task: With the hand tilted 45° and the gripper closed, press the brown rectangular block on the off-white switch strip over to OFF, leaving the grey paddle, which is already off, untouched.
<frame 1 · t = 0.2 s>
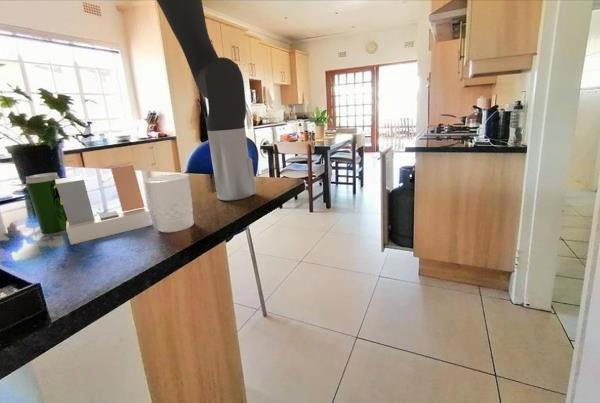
switch strip: (112, 230, 63), on the countertop
brown rectangular block: (127, 188, 65), point 8 cm above the countertop, hinge at 22.0°
white cup: (176, 227, 63), on the countertop
beer can: (59, 233, 65), on the countertop
grey paddle: (75, 200, 57), point 8 cm above the countertop, hinge at -22.0°
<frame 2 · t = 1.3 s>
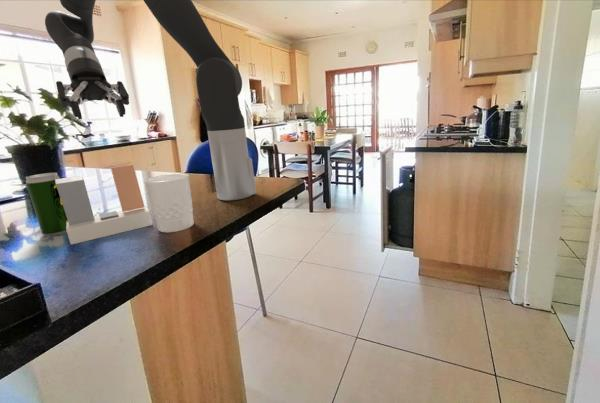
hand: (101, 115, 74), 23 cm above the countertop, tool tilted 45°, fingers open, 8 cm apart
nothing on the countertop moved.
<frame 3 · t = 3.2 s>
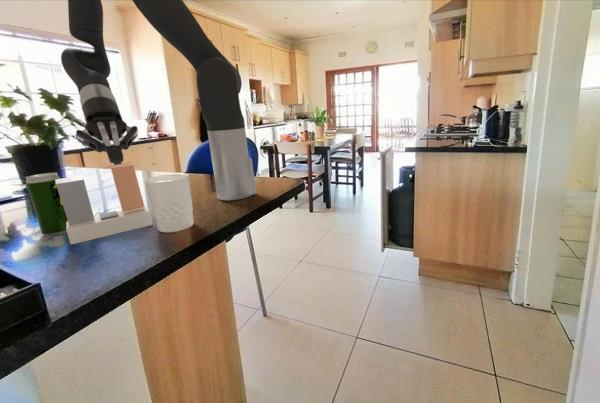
hand: (117, 162, 70), 12 cm above the countertop, tool tilted 45°, fingers closed
nothing on the countertop moved.
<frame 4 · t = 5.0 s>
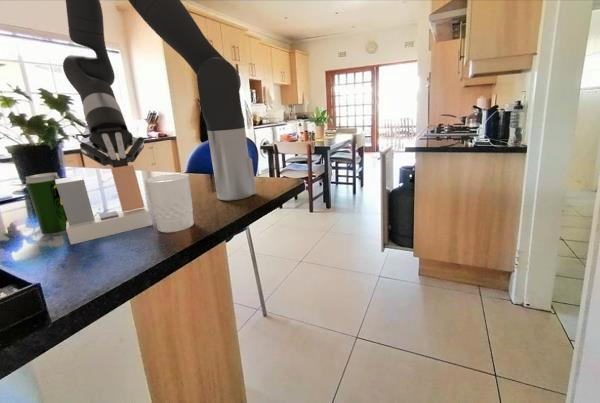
hand: (123, 176, 66), 10 cm above the countertop, tool tilted 45°, fingers closed
brown rectangular block: (127, 188, 65), point 8 cm above the countertop, hinge at 22.0°, touching gripper
everything else where it was.
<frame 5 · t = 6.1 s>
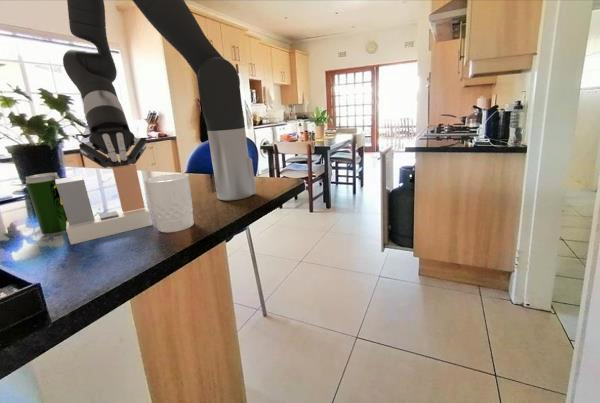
hand: (124, 179, 64), 10 cm above the countertop, tool tilted 45°, fingers closed
brown rectangular block: (128, 188, 63), point 8 cm above the countertop, hinge at -2.5°, touching gripper
everything else where it was.
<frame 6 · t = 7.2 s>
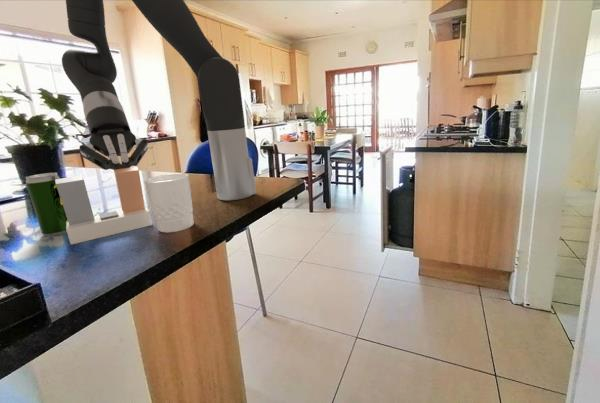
hand: (126, 181, 62), 9 cm above the countertop, tool tilted 45°, fingers closed
brown rectangular block: (130, 190, 62), point 8 cm above the countertop, hinge at -19.1°, touching gripper
everything else where it was.
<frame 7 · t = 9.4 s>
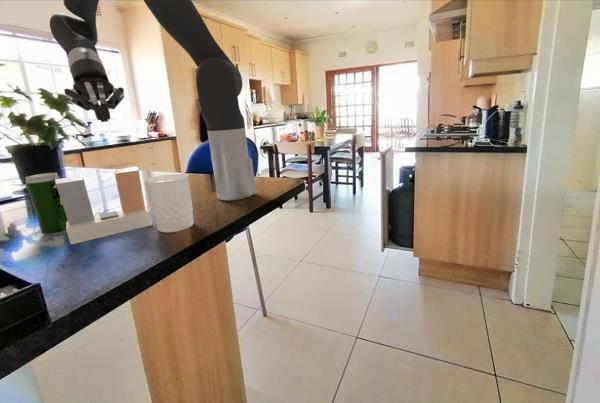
hand: (104, 119, 74), 22 cm above the countertop, tool tilted 45°, fingers closed
brown rectangular block: (130, 190, 62), point 8 cm above the countertop, hinge at -19.2°
everything else where it was.
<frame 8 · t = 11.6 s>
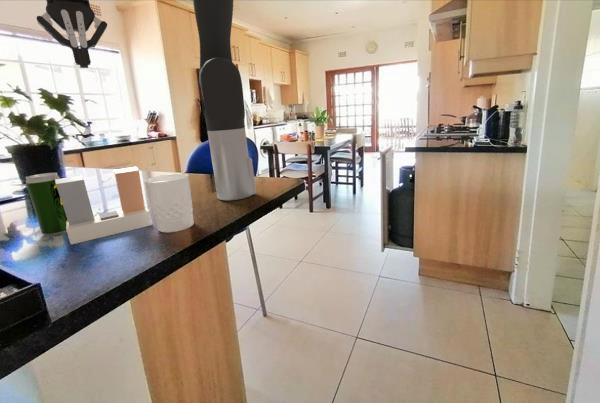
hand: (84, 67, 69), 33 cm above the countertop, tool pointing down, fingers closed
nothing on the countertop moved.
at the end: brown rectangular block at -19° (first picture: +22°); grey paddle at -22° (first picture: -22°) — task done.
